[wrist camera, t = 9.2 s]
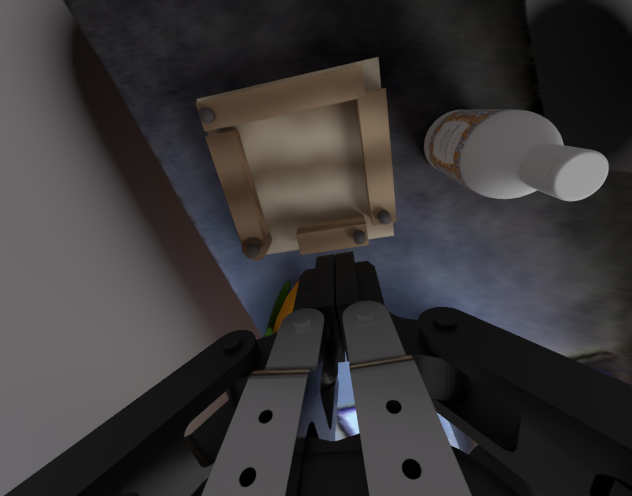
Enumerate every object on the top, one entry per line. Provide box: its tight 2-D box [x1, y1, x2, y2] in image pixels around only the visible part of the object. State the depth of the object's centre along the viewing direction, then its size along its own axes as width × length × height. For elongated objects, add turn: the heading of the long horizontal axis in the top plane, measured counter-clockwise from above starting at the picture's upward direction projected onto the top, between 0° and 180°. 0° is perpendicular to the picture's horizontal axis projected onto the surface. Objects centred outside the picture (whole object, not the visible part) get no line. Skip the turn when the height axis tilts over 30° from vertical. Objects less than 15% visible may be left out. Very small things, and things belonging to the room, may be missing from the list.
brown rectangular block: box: [205, 130, 272, 260], centre depth 35 cm, size 15×3×4 cm, turn 12°
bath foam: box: [424, 109, 608, 201], centre depth 26 cm, size 7×7×20 cm
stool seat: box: [195, 57, 397, 255], centre depth 34 cm, size 20×20×6 cm
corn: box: [264, 281, 299, 337], centre depth 44 cm, size 7×8×20 cm
